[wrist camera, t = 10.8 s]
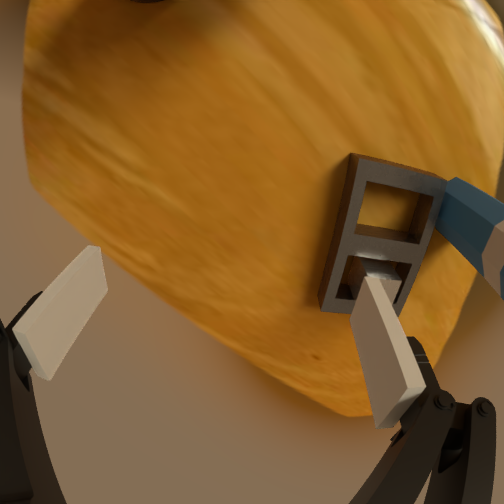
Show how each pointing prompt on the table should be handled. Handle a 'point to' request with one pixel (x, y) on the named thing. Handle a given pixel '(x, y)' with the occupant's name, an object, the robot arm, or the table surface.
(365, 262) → the brushed gray brick
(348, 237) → the grey compartment tray
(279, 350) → the table surface
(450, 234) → the water bottle
